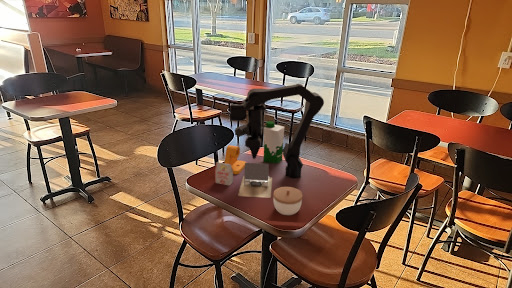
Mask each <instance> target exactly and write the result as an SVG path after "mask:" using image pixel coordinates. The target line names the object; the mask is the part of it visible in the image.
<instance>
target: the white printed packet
mask: <svg viewBox="0 0 512 288" xmlns="http://www.w3.org/2000/svg"><path fill="white" fill-rule="evenodd" d="M214 183H215V184H221V185H225V186H231V185H232V183H234V174H233V170H232V167H231V164H225V162H224V163H223V162H220V161H219V162H218V161H217V162H215V169H214Z"/></svg>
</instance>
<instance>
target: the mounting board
mask: <svg viewBox="0 0 512 288" xmlns="http://www.w3.org/2000/svg"><path fill="white" fill-rule="evenodd" d="M244 180H245V179H244V175H243V176H242V179H241V183H240V186H239V190H238V193H237V196H238V197H248V198H249V197H250V198H264V199H265V198H270V199H271V197H272V187H273V184H272V183H273V177H269V182H268V187H262V186H251V185H250V186H244Z"/></svg>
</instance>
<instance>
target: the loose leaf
mask: <svg viewBox="0 0 512 288" xmlns="http://www.w3.org/2000/svg"><path fill="white" fill-rule="evenodd" d="M269 167H270V163H262V162H261V163H257V162H247V163H245V168H244V174H243V176H244V179H245V180H263V181H268V176H269V173H270V172H269V171H270V169H269ZM250 185H251V186H262V182H261V181H251V183H250Z"/></svg>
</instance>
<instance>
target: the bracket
mask: <svg viewBox="0 0 512 288" xmlns="http://www.w3.org/2000/svg"><path fill="white" fill-rule="evenodd" d="M240 154H241V149H240V146H238V145H231V144H230V145H229V144H228V145H227V147H226V150H225V154H224V155H225V156H224V157H225V158H224V163H225V164H231V167H232V170H233V175H240V173H241V172H242V171H243V170H245V163H248V162H247V161H245V160H241V159H240V160H239V159H238V158H239V156H240Z"/></svg>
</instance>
